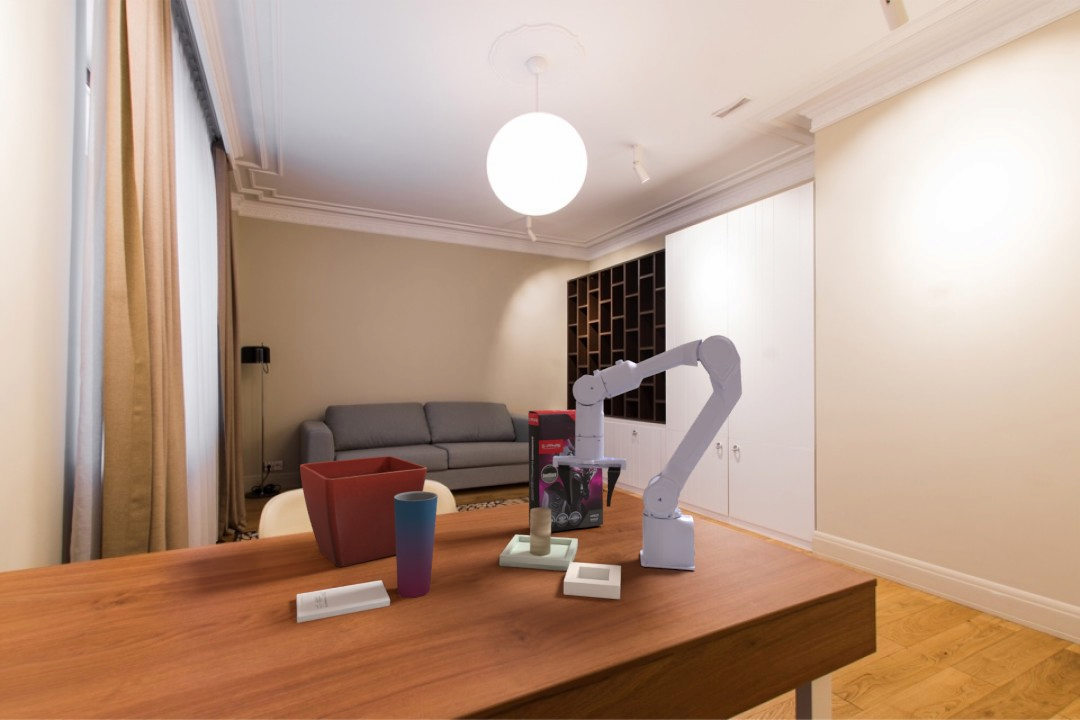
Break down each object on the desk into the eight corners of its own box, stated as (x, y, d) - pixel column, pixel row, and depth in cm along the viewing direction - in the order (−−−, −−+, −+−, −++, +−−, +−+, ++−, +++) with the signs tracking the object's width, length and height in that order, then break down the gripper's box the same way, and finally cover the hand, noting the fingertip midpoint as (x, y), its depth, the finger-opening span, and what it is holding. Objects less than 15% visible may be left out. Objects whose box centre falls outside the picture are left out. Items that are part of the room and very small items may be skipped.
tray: (577, 547, 100) (577, 538, 100) (570, 571, 87) (570, 560, 88) (515, 543, 103) (515, 534, 103) (499, 565, 90) (499, 555, 90)
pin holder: (620, 577, 85) (620, 565, 85) (619, 599, 76) (619, 586, 76) (570, 573, 86) (570, 561, 86) (563, 594, 78) (563, 581, 78)
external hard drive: (389, 610, 73) (296, 627, 68) (380, 589, 80) (296, 603, 75) (390, 598, 73) (297, 614, 68) (381, 579, 81) (296, 592, 75)
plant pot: (322, 579, 83) (326, 478, 84) (295, 548, 98) (298, 463, 99) (427, 555, 95) (429, 467, 96) (388, 531, 110) (390, 455, 111)
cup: (424, 602, 74) (426, 501, 75) (383, 598, 76) (386, 499, 76) (442, 584, 81) (444, 492, 82) (404, 580, 82) (406, 490, 83)
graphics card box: (537, 535, 108) (539, 411, 110) (525, 527, 114) (527, 409, 116) (604, 527, 115) (604, 410, 117) (589, 519, 122) (589, 409, 123)
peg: (551, 549, 97) (552, 508, 97) (549, 556, 93) (550, 513, 93) (531, 548, 97) (531, 507, 97) (528, 555, 93) (529, 512, 93)
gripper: (550, 436, 96) (550, 507, 95) (626, 439, 93) (626, 511, 93) (556, 433, 103) (555, 499, 102) (626, 435, 100) (626, 502, 100)
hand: (589, 504), depth 98 cm, fingers open, 7 cm apart
